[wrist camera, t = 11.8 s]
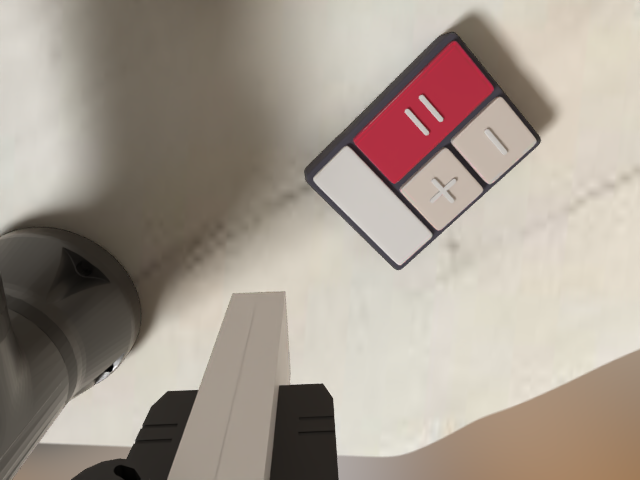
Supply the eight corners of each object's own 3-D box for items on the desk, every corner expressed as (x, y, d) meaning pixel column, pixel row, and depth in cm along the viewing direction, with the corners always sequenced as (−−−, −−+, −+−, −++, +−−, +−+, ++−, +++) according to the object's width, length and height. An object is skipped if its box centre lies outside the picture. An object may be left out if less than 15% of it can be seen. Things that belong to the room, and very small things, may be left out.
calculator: (549, 142, 35) (400, 276, 38) (522, 136, 39) (389, 258, 42) (457, 26, 32) (302, 180, 35) (438, 34, 36) (301, 171, 39)
